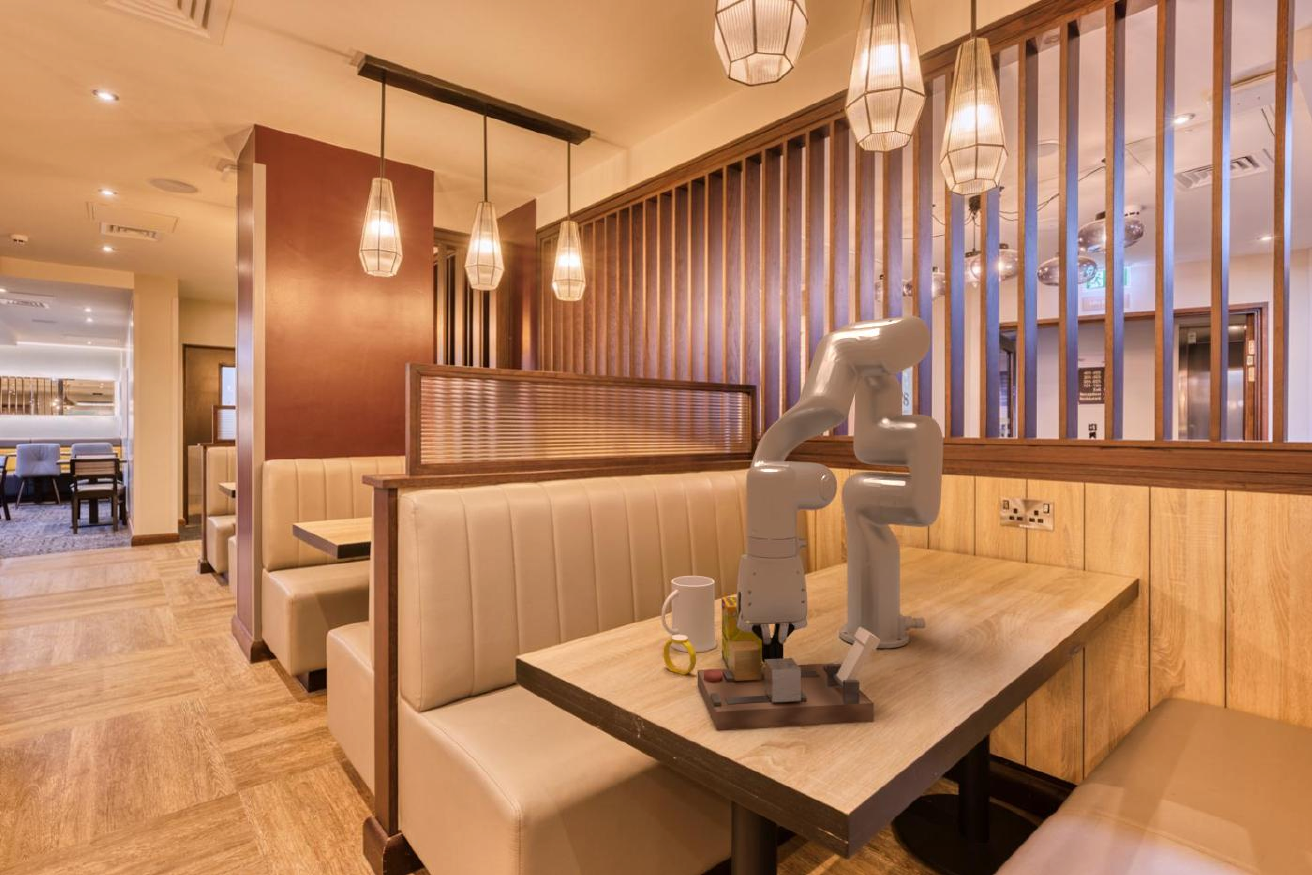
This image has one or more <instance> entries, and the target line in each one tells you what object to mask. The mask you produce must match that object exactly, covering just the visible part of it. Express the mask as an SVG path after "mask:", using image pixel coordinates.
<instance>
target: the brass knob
mask: <svg viewBox="0 0 1312 875" xmlns="http://www.w3.org/2000/svg"><path fill="white" fill-rule="evenodd" d="M729 671H730V673H731V675H732V676H733V679H734V680H735V681H740V680H760V679H761V649H760V648H759V646H758V645H757V644H756V643H755V641H735V642H729Z"/></svg>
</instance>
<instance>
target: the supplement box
mask: <svg viewBox="0 0 1312 875" xmlns="http://www.w3.org/2000/svg"><path fill="white" fill-rule="evenodd" d="M738 618H739V614H738V613H737V596H726V597H725V596H723V597H721V658H722V660H723V661H724V663H725V665H726V668H729V642H735V641H755V643H756V644H757V645H758V646H759V648H760V649H761V667H764V665H763V661H762V640H761V639H760V638H759V637H758V636H757V635H756V634H755V633H753V632H746V631H741V630H740V629H739V628H738V627H737V623H738Z"/></svg>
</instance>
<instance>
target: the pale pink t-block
mask: <svg viewBox="0 0 1312 875" xmlns="http://www.w3.org/2000/svg"><path fill="white" fill-rule="evenodd" d="M854 636H855V637H856V640H855V642H854V644H852V646H851V647H850V649H849V651H848V653H847V654H846V657H845V658H844V660H843V661H842V664H841V665H842V666H841V668H840V669H839V671H838V673H835V674H834V675H833V680H834V681H835V682H836V683H837V684H838V685H839V686H840V687H841V688H842V689H843V680H857V679H858V676H859V675H860V673H861V671H862V669H863V668H864V665H865V664H866V662H867V660H868V658H869V656H870V654H871V653H872V651H873V650H874V651H876V650H877V649H878V648H877V646H878V644H879V643H880V641H881V640H880V639H878V638H877V637H876V636H874V635H873V634H872V633H870V632H869V631H867V630H865V629H863V628H861V627H860V626H859V628H858V630H857V632H856V634H855V635H854Z"/></svg>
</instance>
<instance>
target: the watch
mask: <svg viewBox="0 0 1312 875" xmlns="http://www.w3.org/2000/svg"><path fill="white" fill-rule="evenodd" d="M672 642H673V643H675V644H683V645H684V646H685V647H686V649H687V651H688V652H687V653H688V656H689V666H688V668H687V670H686V669H682V668H679V667H676V665H675V664H674V663H673V661H672V658H671V655H670V650H671V649H670V648H671V644H672ZM662 658H663V660H664V664H665V665H666V667H667V668H668V669H669V671H670V672H672V673H676V674H679V675H682V676H685V675H688V674H690V673H691V672H693V671H694V669H695V667H696V663H697V652H695V651H694V648H693V646H692V644H691V643H690V642H689V641H688V637H687V636H685V635H673V636H672V635H671V638H670V639H669V640H667V641H666V642H665V645H664V646H663V651H662Z"/></svg>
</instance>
